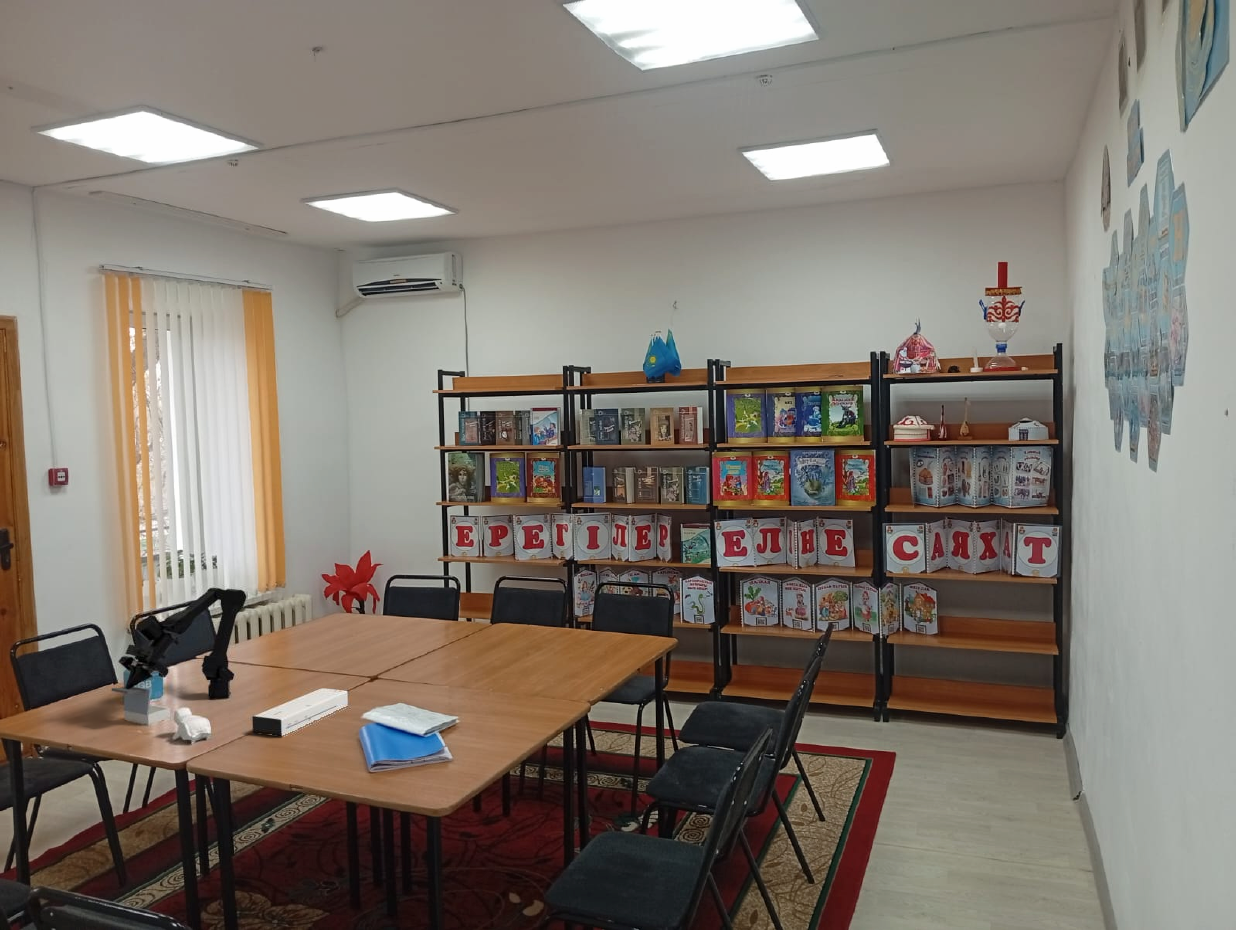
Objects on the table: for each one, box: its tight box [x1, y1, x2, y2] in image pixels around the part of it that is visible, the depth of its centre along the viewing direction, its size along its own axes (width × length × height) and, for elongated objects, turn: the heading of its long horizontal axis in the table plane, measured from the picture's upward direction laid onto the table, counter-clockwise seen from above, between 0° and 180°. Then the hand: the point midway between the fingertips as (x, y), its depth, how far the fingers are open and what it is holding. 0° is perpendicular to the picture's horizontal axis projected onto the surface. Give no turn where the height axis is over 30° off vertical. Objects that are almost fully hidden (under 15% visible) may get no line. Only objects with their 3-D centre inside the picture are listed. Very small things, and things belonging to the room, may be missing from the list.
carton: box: [124, 704, 171, 726], centre depth 305 cm, size 8×12×4 cm, turn 63°
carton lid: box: [111, 686, 151, 715], centre depth 299 cm, size 8×12×7 cm
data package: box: [122, 668, 164, 701], centre depth 328 cm, size 12×4×12 cm, turn 142°
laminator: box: [251, 687, 349, 737], centre depth 304 cm, size 34×12×6 cm, turn 160°
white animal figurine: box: [172, 707, 212, 745], centre depth 286 cm, size 9×8×15 cm
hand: (126, 688), depth 298 cm, fingers closed, pressing on carton lid
